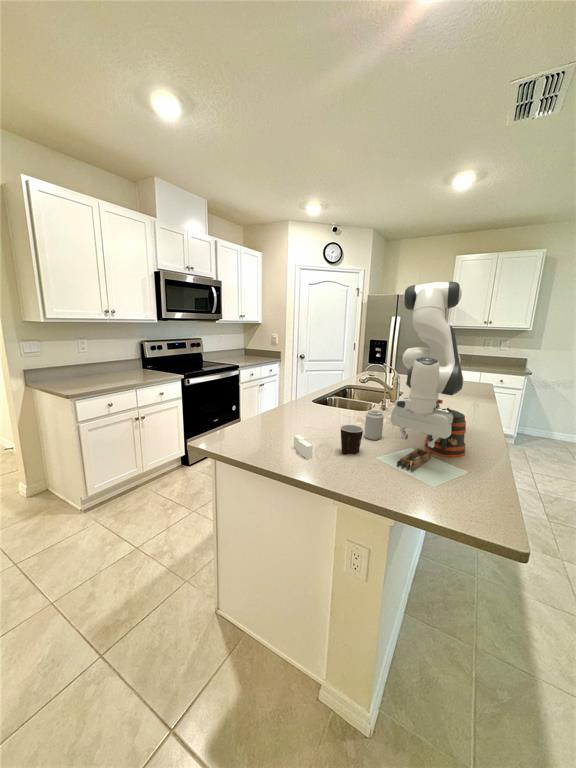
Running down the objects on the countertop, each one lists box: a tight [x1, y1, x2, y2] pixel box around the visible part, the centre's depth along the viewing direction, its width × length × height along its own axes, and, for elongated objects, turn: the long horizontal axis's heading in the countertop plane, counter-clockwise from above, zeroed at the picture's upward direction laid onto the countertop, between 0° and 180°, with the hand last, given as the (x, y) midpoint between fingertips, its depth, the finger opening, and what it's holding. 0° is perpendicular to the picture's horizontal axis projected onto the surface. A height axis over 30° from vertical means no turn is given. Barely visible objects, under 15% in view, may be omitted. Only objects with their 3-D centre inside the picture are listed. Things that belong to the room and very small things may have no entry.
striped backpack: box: [424, 407, 467, 459], centre depth 119 cm, size 19×15×20 cm
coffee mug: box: [339, 424, 364, 456], centre depth 117 cm, size 12×9×10 cm
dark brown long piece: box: [397, 448, 433, 473], centre depth 110 cm, size 16×5×2 cm, turn 133°
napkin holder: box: [293, 434, 313, 460], centre depth 119 cm, size 15×11×6 cm
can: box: [363, 409, 385, 441], centre depth 135 cm, size 8×8×12 cm
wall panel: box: [375, 447, 470, 488], centre depth 109 cm, size 20×24×1 cm
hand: (417, 442), depth 109 cm, fingers open, 8 cm apart
